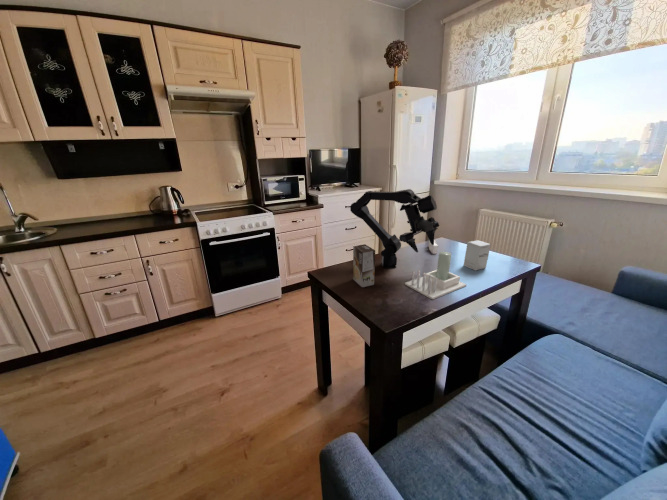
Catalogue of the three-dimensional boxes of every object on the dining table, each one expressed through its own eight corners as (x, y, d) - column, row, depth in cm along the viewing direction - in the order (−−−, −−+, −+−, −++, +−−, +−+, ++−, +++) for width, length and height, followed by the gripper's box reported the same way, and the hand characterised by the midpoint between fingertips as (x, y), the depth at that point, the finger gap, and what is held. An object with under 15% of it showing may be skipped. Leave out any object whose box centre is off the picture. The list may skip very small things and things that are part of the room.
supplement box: (475, 271, 129) (480, 246, 125) (462, 265, 136) (466, 241, 131) (486, 268, 132) (491, 243, 128) (473, 262, 139) (477, 239, 134)
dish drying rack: (432, 299, 106) (434, 284, 103) (404, 284, 118) (405, 270, 115) (466, 286, 116) (468, 271, 113) (437, 273, 128) (439, 260, 125)
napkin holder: (438, 256, 148) (439, 246, 146) (418, 252, 155) (419, 242, 153) (447, 249, 159) (448, 239, 157) (428, 245, 166) (429, 236, 164)
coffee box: (374, 284, 118) (376, 250, 112) (362, 287, 116) (362, 252, 110) (364, 276, 126) (365, 243, 120) (352, 279, 124) (352, 245, 118)
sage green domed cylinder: (435, 282, 117) (439, 254, 112) (435, 278, 121) (439, 251, 117) (447, 284, 115) (451, 256, 111) (447, 279, 120) (451, 252, 115)
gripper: (407, 222, 112) (419, 256, 114) (442, 207, 118) (453, 240, 119) (393, 224, 123) (405, 256, 125) (425, 210, 128) (436, 241, 130)
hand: (425, 248), depth 124 cm, fingers open, 9 cm apart
